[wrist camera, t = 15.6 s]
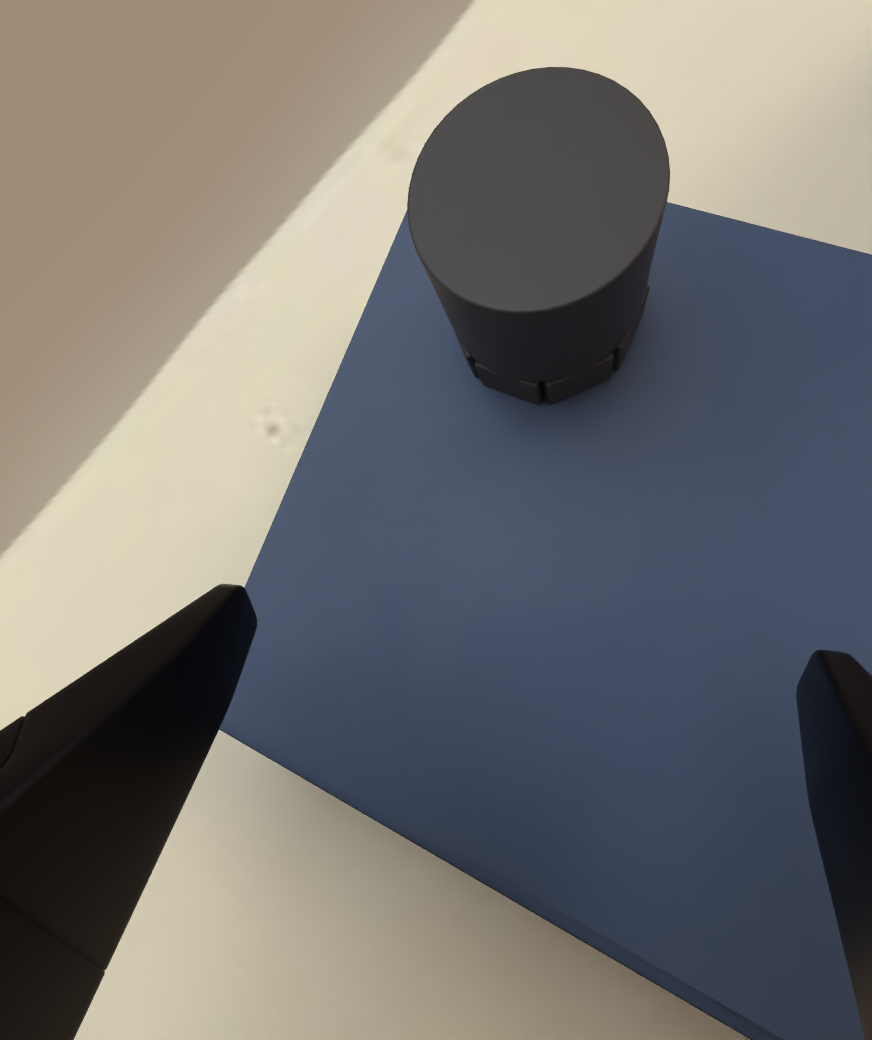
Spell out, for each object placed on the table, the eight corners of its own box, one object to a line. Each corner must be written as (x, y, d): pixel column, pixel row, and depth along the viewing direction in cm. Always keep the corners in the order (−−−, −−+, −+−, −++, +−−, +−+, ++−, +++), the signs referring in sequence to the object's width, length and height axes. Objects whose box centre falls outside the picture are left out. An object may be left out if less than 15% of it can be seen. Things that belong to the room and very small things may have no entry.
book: (951, 1061, 14) (1090, 1238, 10) (266, 686, 19) (189, 713, 15) (1212, 450, 14) (1448, 402, 11) (463, 230, 19) (435, 141, 15)
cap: (667, 354, 14) (717, 237, 9) (496, 429, 14) (458, 356, 10) (594, 201, 14) (604, 18, 10) (435, 279, 15) (372, 145, 10)
